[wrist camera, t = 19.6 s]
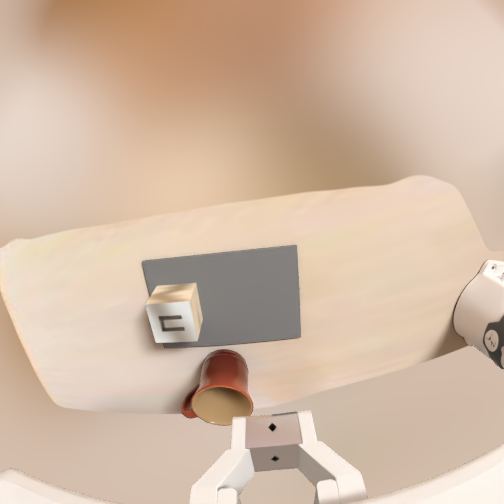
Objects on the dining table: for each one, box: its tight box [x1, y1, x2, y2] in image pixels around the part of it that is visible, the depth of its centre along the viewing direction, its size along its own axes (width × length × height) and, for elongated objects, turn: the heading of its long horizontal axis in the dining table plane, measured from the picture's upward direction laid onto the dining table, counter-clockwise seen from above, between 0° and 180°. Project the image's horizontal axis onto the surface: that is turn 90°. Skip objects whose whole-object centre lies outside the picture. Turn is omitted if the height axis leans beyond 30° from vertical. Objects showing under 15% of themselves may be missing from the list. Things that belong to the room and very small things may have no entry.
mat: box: [142, 245, 301, 348], centre depth 45 cm, size 22×15×1 cm
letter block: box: [145, 283, 203, 343], centre depth 41 cm, size 6×6×6 cm
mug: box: [181, 349, 253, 426], centre depth 44 cm, size 12×9×10 cm
